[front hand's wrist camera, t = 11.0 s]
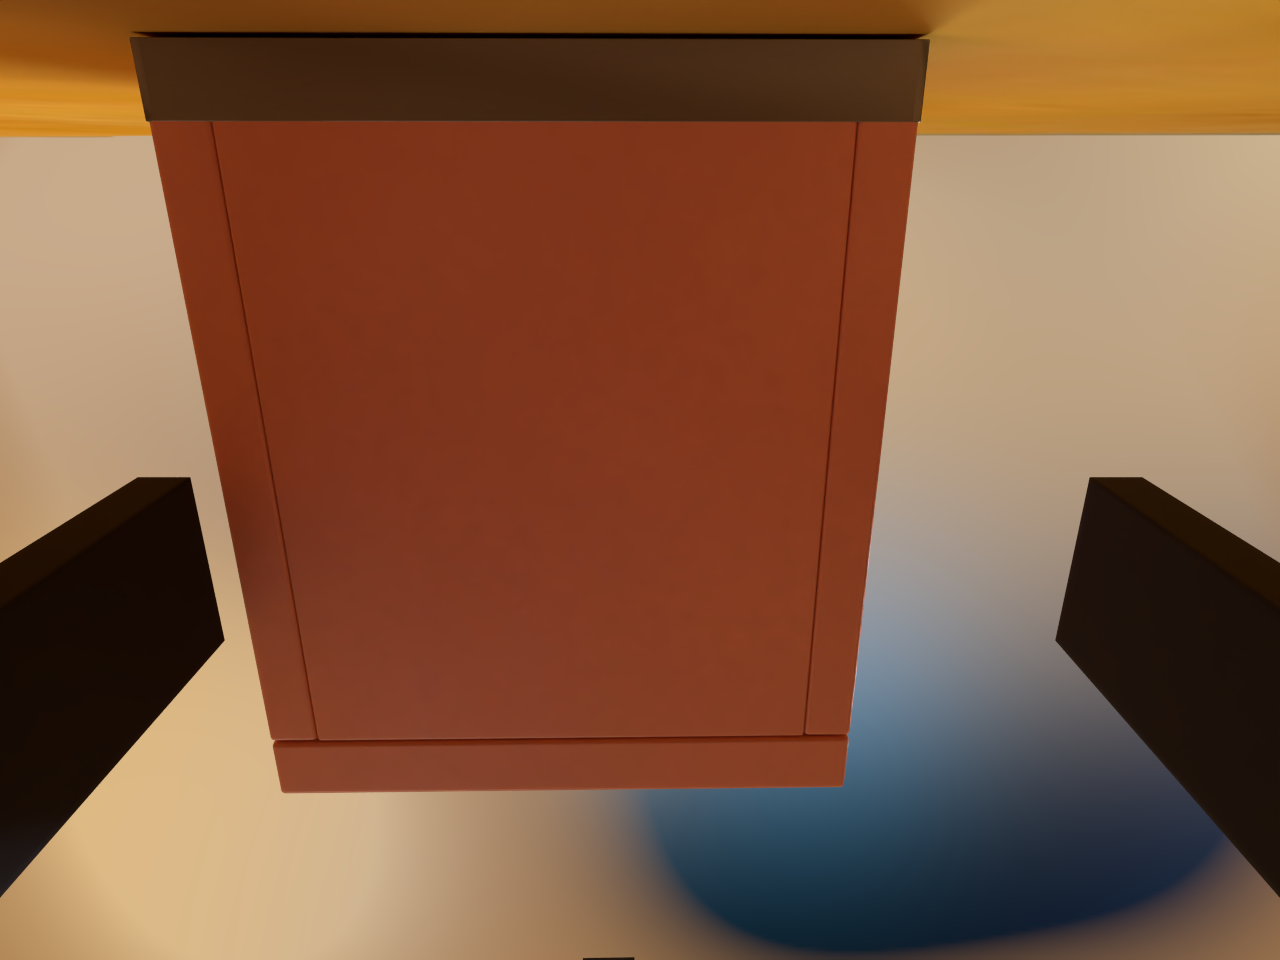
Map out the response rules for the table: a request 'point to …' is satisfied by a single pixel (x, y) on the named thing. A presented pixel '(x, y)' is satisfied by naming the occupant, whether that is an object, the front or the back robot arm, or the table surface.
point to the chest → (543, 369)
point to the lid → (561, 763)
